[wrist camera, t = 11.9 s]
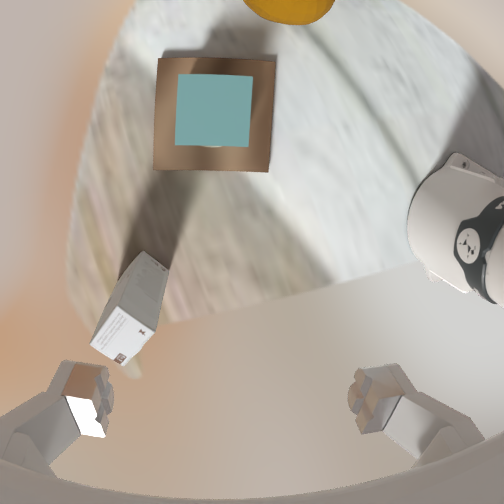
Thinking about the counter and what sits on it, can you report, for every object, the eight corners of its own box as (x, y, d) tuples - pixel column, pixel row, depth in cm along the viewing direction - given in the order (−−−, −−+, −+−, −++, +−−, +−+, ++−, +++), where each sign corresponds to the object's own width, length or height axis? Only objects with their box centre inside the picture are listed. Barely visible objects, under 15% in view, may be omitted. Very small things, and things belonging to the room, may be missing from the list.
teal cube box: (245, 86, 30) (252, 76, 23) (241, 143, 32) (248, 147, 26) (185, 84, 29) (178, 74, 23) (182, 141, 31) (174, 145, 25)
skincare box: (142, 248, 36) (115, 301, 25) (172, 271, 38) (157, 330, 26) (115, 284, 37) (84, 343, 26) (143, 305, 39) (123, 369, 28)
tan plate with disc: (273, 64, 30) (281, 56, 26) (266, 170, 34) (273, 176, 31) (160, 60, 28) (153, 52, 25) (155, 168, 33) (147, 174, 29)
